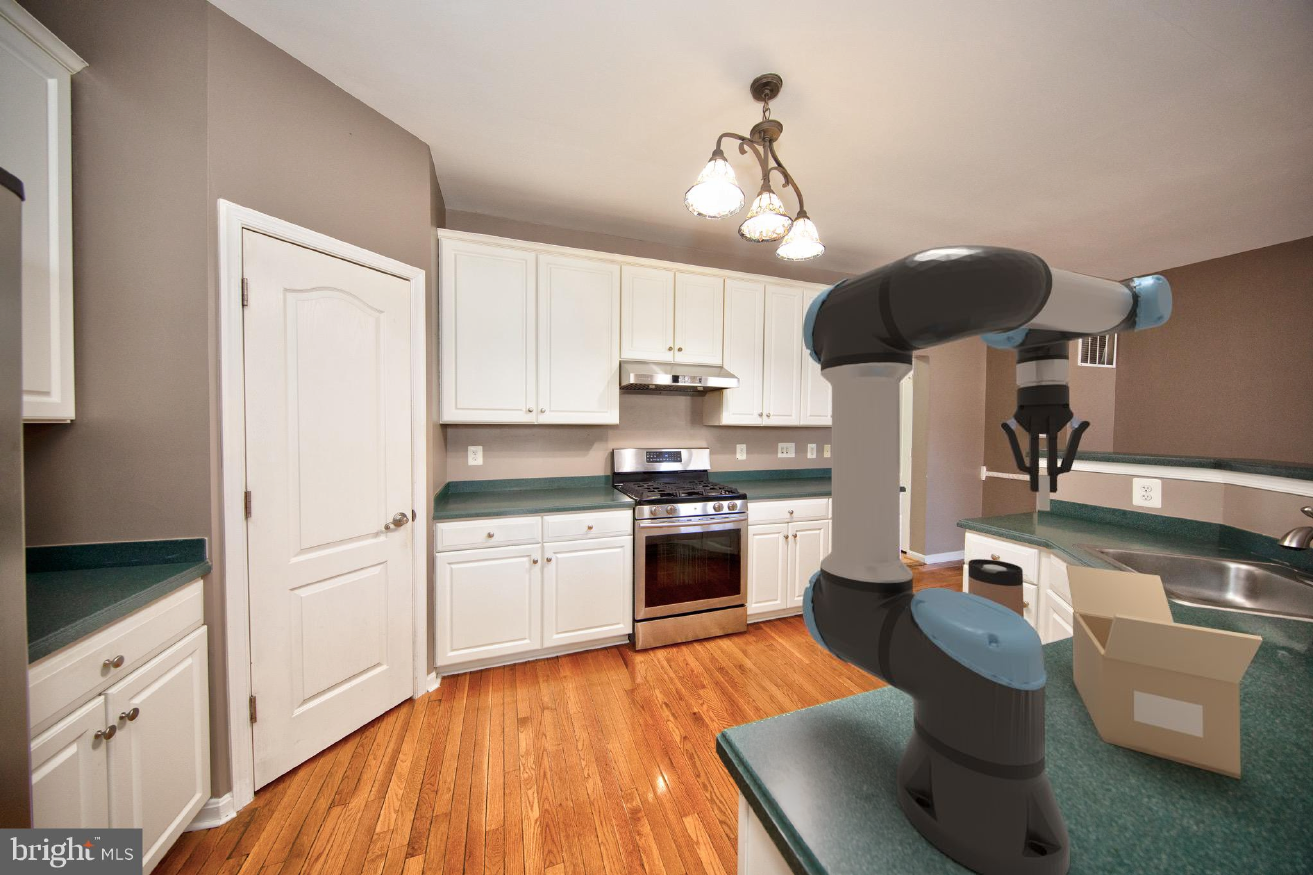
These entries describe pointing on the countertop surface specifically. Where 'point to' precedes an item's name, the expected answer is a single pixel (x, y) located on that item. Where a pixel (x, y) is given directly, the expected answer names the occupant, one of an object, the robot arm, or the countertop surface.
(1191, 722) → the carton
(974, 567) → the travel mug
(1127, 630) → the near flap
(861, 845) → the countertop surface
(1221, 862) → the countertop surface
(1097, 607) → the far flap
